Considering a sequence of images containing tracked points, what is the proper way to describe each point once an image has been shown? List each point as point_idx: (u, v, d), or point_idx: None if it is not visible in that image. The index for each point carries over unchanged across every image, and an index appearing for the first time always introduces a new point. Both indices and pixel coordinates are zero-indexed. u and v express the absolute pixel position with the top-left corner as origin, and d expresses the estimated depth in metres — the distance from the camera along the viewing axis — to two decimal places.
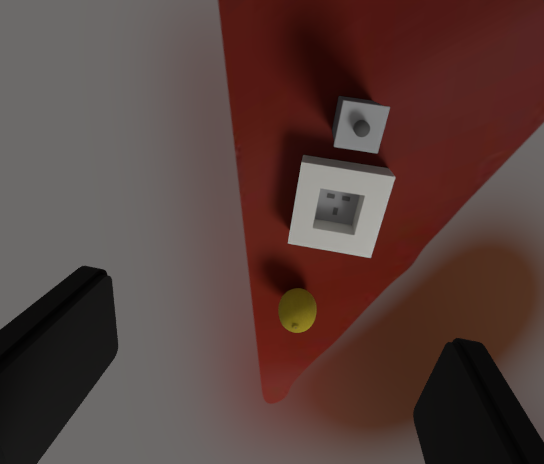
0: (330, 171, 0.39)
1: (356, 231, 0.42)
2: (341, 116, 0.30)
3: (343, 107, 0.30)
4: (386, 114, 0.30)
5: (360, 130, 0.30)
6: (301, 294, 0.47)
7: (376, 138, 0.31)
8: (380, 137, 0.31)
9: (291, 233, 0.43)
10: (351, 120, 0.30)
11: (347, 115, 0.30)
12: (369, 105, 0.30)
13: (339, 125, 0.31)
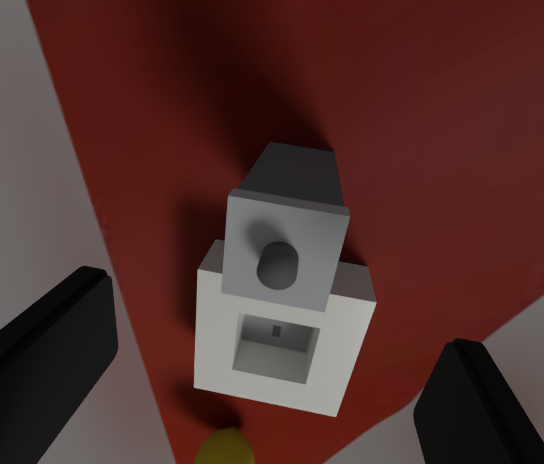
0: None
1: (308, 379, 0.23)
2: (228, 231, 0.12)
3: (230, 211, 0.12)
4: (341, 232, 0.11)
5: (273, 276, 0.11)
6: (227, 454, 0.29)
7: (319, 282, 0.12)
8: (329, 281, 0.12)
9: (197, 375, 0.25)
10: (255, 241, 0.12)
11: (242, 229, 0.12)
12: (296, 210, 0.11)
13: (226, 250, 0.12)
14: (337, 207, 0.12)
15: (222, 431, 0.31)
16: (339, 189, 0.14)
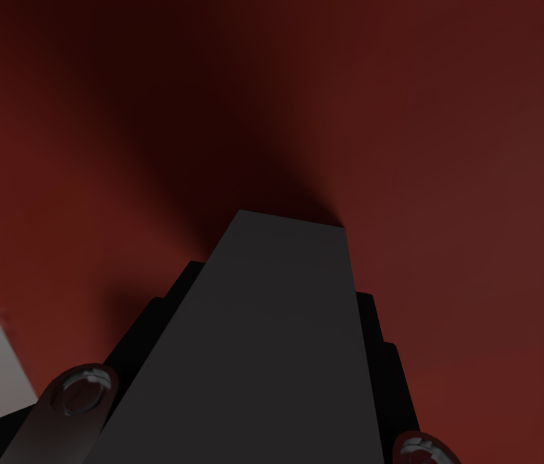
0: None
1: None
2: None
3: None
4: None
5: None
6: None
7: None
8: None
9: None
10: None
11: None
12: None
13: None
14: None
15: None
16: (367, 388, 0.06)
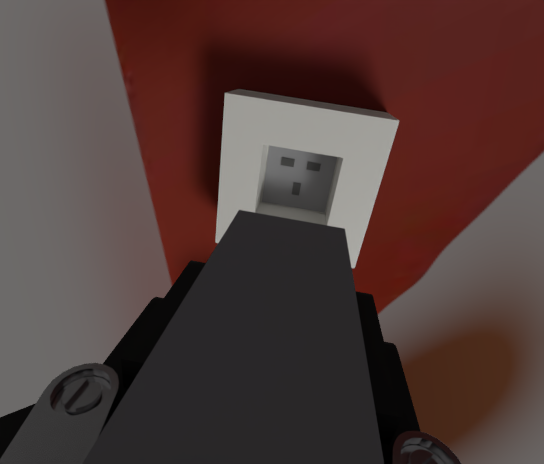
0: (278, 111, 0.21)
1: (329, 223, 0.24)
2: None
3: None
4: None
5: None
6: None
7: None
8: None
9: (219, 226, 0.25)
10: None
11: None
12: None
13: None
14: None
15: None
16: (367, 390, 0.06)
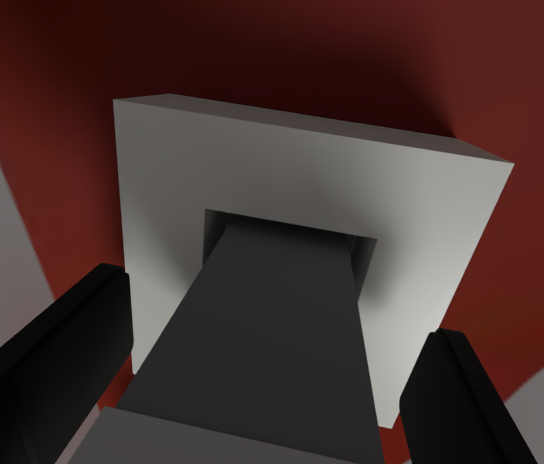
0: (233, 140, 0.09)
1: None
2: None
3: None
4: None
5: None
6: None
7: None
8: None
9: (137, 349, 0.13)
10: None
11: None
12: None
13: None
14: None
15: None
16: (362, 354, 0.07)
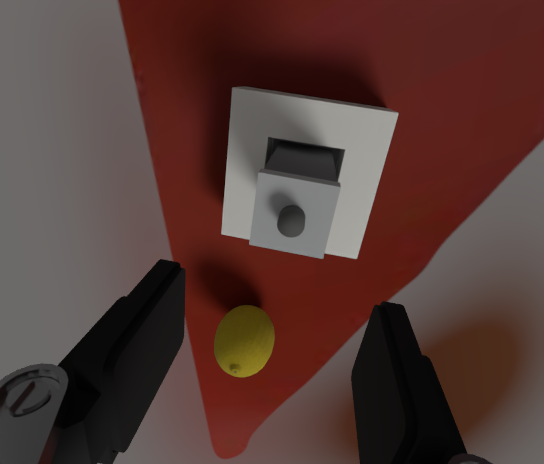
0: (283, 104, 0.22)
1: None
2: (257, 198, 0.17)
3: (259, 183, 0.17)
4: (335, 198, 0.17)
5: (288, 227, 0.17)
6: (249, 316, 0.30)
7: (319, 235, 0.18)
8: (326, 234, 0.18)
9: (225, 218, 0.26)
10: (275, 205, 0.17)
11: (267, 196, 0.17)
12: (304, 182, 0.17)
13: (255, 212, 0.18)
14: (332, 182, 0.17)
15: (243, 305, 0.32)
16: (334, 172, 0.19)
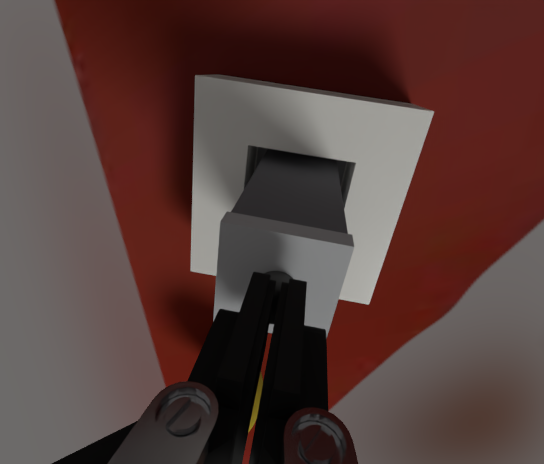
0: (267, 99, 0.15)
1: None
2: (220, 259, 0.11)
3: (222, 238, 0.10)
4: (344, 263, 0.10)
5: None
6: None
7: (320, 313, 0.11)
8: (330, 312, 0.11)
9: (195, 251, 0.20)
10: (250, 270, 0.11)
11: (235, 257, 0.11)
12: (294, 238, 0.10)
13: (219, 278, 0.11)
14: (340, 234, 0.11)
15: None
16: (342, 209, 0.13)
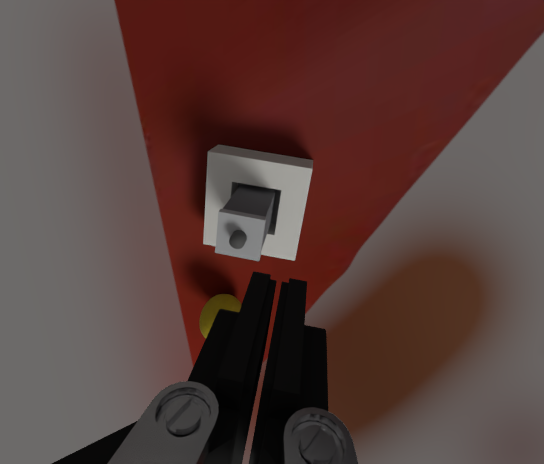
0: (240, 162, 0.34)
1: (276, 230, 0.37)
2: (218, 225, 0.29)
3: (219, 217, 0.29)
4: (262, 226, 0.29)
5: (235, 243, 0.29)
6: (224, 301, 0.42)
7: (255, 247, 0.30)
8: (259, 246, 0.30)
9: (206, 233, 0.38)
10: (229, 230, 0.30)
11: (224, 225, 0.29)
12: (244, 217, 0.29)
13: (217, 233, 0.30)
14: (261, 216, 0.29)
15: (221, 294, 0.44)
16: (267, 208, 0.31)
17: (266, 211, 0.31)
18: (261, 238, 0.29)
